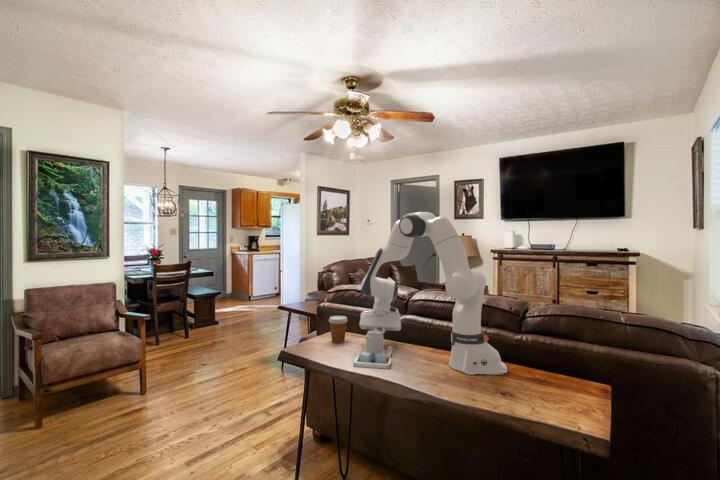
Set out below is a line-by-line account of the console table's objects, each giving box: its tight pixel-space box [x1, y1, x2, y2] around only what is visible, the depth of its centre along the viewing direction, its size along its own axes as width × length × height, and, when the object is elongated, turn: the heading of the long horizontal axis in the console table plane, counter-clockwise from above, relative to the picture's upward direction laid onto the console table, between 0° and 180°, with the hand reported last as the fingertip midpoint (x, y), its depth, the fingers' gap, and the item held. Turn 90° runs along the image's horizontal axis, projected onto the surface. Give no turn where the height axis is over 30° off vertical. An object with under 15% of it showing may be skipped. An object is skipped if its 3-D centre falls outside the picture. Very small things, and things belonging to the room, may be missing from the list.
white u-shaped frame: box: [352, 355, 393, 370], centre depth 149 cm, size 15×8×2 cm, turn 79°
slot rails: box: [358, 344, 394, 363], centre depth 161 cm, size 13×16×2 cm
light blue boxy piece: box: [373, 351, 387, 364], centre depth 150 cm, size 4×4×4 cm
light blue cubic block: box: [359, 352, 374, 363], centre depth 151 cm, size 4×4×4 cm
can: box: [365, 329, 384, 362], centre depth 155 cm, size 8×8×12 cm
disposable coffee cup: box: [328, 315, 348, 344], centre depth 181 cm, size 10×10×12 cm
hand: (378, 337), depth 170 cm, fingers closed
